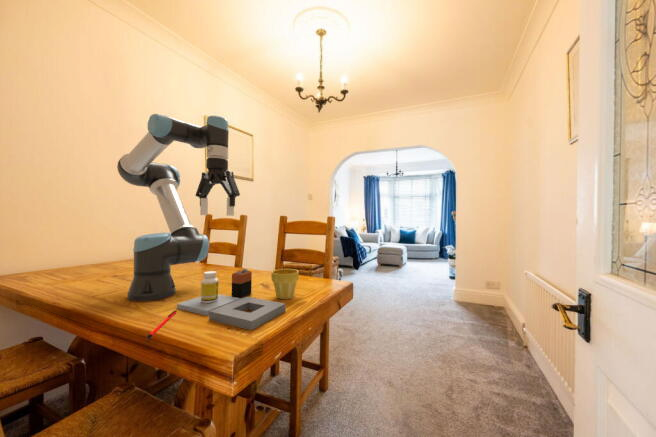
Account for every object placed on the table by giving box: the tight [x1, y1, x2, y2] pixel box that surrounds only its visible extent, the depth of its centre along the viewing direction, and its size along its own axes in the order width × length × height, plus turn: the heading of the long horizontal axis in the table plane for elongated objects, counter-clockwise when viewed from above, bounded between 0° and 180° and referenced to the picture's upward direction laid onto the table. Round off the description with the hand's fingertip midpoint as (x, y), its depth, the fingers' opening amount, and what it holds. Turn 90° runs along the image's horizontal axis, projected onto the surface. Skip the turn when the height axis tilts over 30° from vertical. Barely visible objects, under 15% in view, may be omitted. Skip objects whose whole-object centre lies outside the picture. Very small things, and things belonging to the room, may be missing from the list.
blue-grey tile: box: [176, 293, 240, 317], centre depth 90 cm, size 14×14×2 cm
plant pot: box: [270, 268, 300, 300], centre depth 101 cm, size 10×10×10 cm
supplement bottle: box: [200, 270, 219, 303], centre depth 90 cm, size 5×5×10 cm
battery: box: [231, 268, 253, 299], centre depth 101 cm, size 4×7×10 cm, turn 159°
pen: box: [146, 310, 178, 340], centre depth 74 cm, size 1×19×1 cm, turn 11°
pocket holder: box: [208, 296, 286, 331], centre depth 81 cm, size 16×16×2 cm
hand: (216, 215), depth 99 cm, fingers open, 13 cm apart
